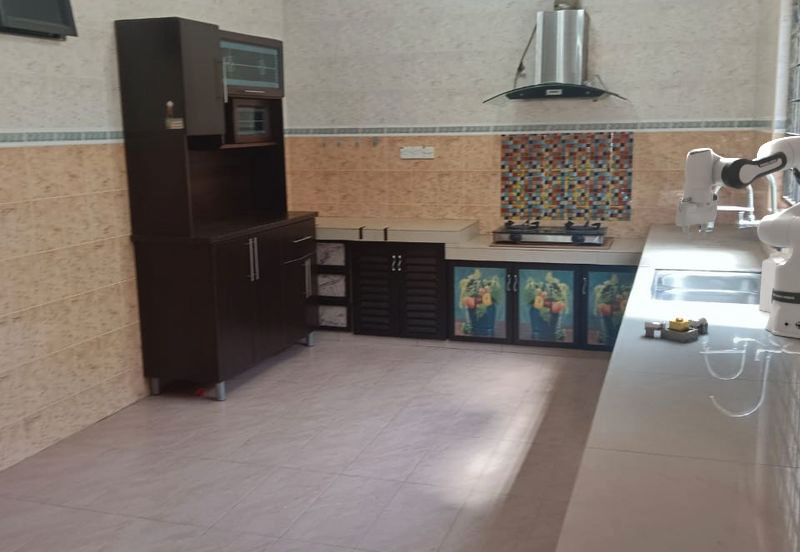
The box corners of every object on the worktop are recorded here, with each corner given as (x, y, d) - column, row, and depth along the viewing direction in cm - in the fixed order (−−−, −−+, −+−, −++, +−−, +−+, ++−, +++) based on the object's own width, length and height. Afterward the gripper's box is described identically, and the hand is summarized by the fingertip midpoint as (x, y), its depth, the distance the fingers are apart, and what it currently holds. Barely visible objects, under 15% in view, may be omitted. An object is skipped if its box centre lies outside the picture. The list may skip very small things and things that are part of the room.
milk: (783, 311, 302) (788, 253, 298) (772, 313, 299) (777, 254, 295) (768, 308, 307) (773, 251, 303) (758, 310, 304) (763, 252, 300)
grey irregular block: (697, 329, 277) (698, 315, 276) (708, 331, 274) (709, 317, 273) (684, 333, 272) (685, 319, 271) (695, 335, 269) (696, 321, 268)
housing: (697, 338, 266) (698, 329, 265) (683, 342, 261) (683, 333, 260) (674, 333, 273) (675, 324, 272) (660, 337, 267) (660, 328, 267)
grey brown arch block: (664, 334, 271) (665, 320, 270) (664, 337, 267) (665, 323, 266) (644, 333, 272) (644, 319, 271) (644, 336, 268) (645, 322, 268)
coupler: (688, 335, 266) (689, 319, 265) (680, 337, 264) (681, 321, 263) (676, 332, 270) (677, 316, 269) (668, 335, 267) (669, 318, 266)
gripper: (688, 199, 266) (686, 241, 269) (721, 195, 279) (718, 235, 281) (671, 198, 271) (669, 239, 273) (704, 194, 283) (702, 233, 286)
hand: (694, 237), depth 277 cm, fingers open, 8 cm apart
